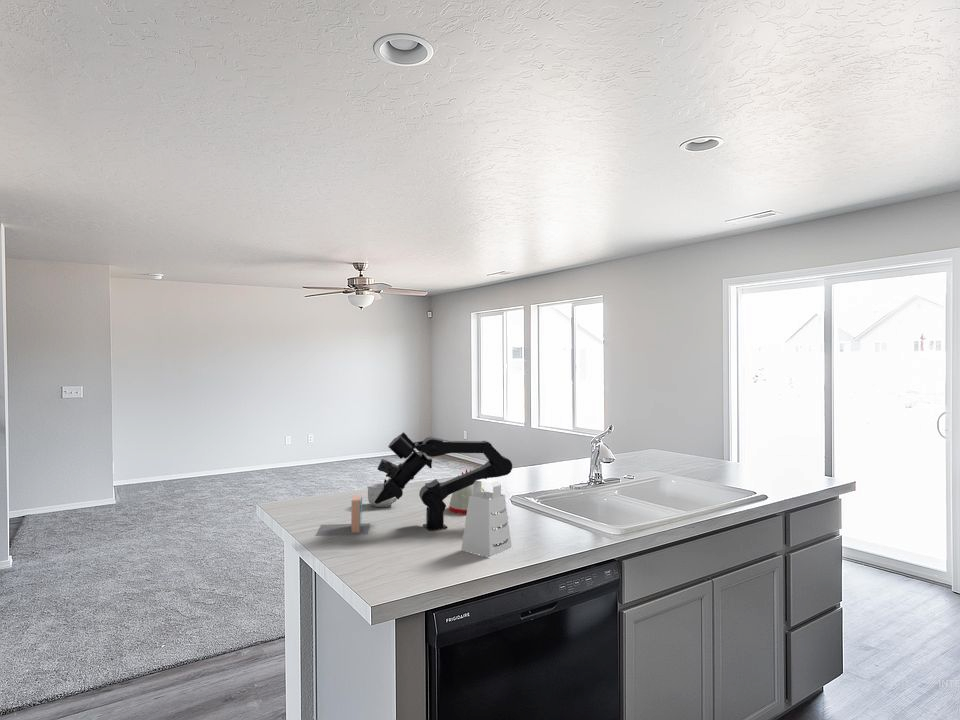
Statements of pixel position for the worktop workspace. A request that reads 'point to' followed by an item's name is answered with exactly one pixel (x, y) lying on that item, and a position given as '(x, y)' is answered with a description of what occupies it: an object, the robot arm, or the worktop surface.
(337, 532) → the mat
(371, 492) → the teacup
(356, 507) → the pink and teal block
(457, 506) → the kitchen timer
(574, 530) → the worktop surface
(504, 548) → the grater
